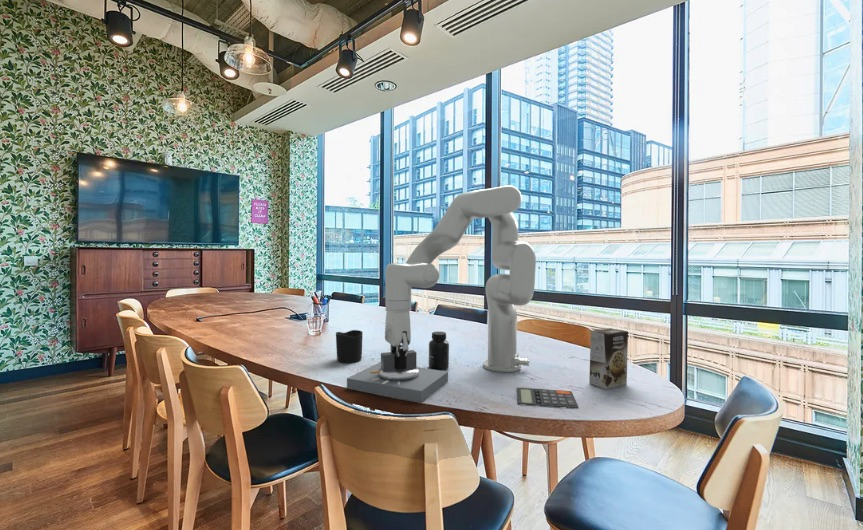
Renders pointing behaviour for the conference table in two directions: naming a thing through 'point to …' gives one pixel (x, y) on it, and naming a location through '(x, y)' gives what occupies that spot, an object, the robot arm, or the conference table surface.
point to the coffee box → (608, 358)
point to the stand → (399, 383)
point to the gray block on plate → (391, 373)
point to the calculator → (546, 397)
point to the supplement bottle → (438, 351)
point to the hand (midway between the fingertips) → (398, 366)
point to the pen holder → (349, 346)
